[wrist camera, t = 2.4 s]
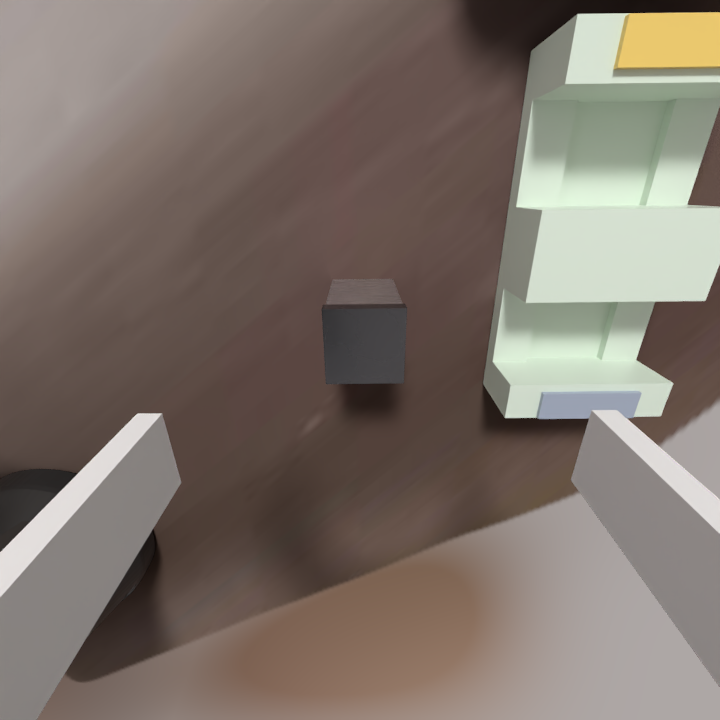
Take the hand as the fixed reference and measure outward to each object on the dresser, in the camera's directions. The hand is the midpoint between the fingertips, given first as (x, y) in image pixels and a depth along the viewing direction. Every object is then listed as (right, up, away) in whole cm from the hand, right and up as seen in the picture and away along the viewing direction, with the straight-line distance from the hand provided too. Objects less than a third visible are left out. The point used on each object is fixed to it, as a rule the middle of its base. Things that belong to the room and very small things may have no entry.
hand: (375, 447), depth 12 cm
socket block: (+14, +10, +12) cm, 21 cm away
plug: (0, +6, +14) cm, 15 cm away
